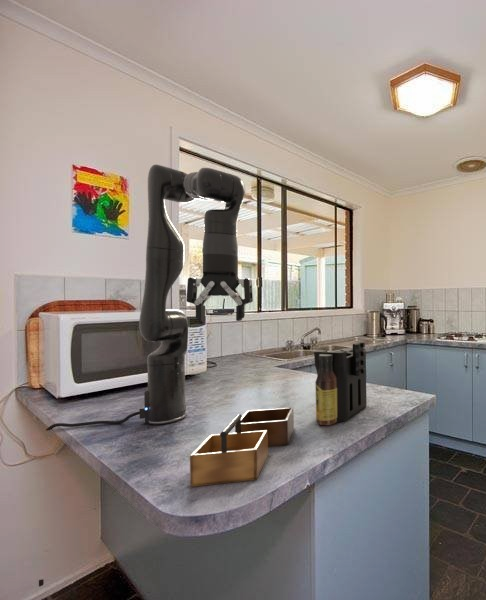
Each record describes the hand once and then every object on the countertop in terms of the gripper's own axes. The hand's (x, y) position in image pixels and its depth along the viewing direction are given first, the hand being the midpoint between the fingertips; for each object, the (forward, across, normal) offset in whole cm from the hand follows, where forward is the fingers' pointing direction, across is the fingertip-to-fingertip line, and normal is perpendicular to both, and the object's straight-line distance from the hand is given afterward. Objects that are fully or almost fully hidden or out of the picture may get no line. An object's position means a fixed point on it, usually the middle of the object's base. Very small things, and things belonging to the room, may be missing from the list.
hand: (220, 320), depth 80 cm
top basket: (+30, -7, +13) cm, 34 cm away
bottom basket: (+30, -10, -2) cm, 32 cm away
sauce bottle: (+30, -25, -11) cm, 41 cm away
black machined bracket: (+30, -31, -19) cm, 47 cm away
